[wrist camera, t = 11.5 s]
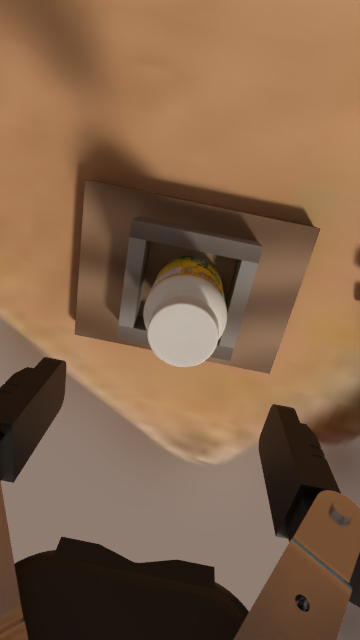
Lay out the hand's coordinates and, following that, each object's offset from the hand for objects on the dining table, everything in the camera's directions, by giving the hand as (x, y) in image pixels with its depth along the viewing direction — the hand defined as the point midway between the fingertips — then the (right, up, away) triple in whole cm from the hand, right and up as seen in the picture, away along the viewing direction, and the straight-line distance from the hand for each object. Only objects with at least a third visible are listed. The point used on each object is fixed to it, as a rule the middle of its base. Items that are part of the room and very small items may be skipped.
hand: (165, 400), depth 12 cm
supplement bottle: (+1, +6, +14) cm, 16 cm away
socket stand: (+1, +7, +16) cm, 17 cm away
